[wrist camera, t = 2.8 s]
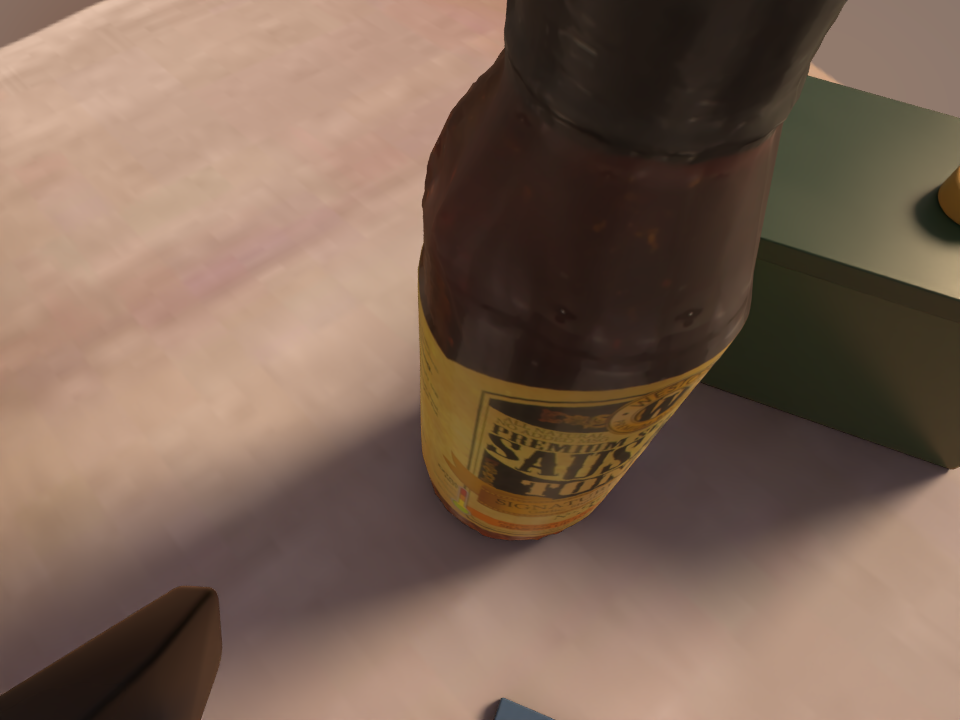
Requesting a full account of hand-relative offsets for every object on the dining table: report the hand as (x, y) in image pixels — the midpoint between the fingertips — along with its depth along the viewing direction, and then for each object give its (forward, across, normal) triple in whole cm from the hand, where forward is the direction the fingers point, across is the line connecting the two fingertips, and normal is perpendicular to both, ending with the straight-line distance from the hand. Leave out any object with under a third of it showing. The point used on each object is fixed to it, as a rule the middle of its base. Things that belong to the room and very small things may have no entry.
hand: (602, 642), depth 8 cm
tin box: (+18, -11, +1) cm, 21 cm away
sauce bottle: (+14, 0, +5) cm, 15 cm away
